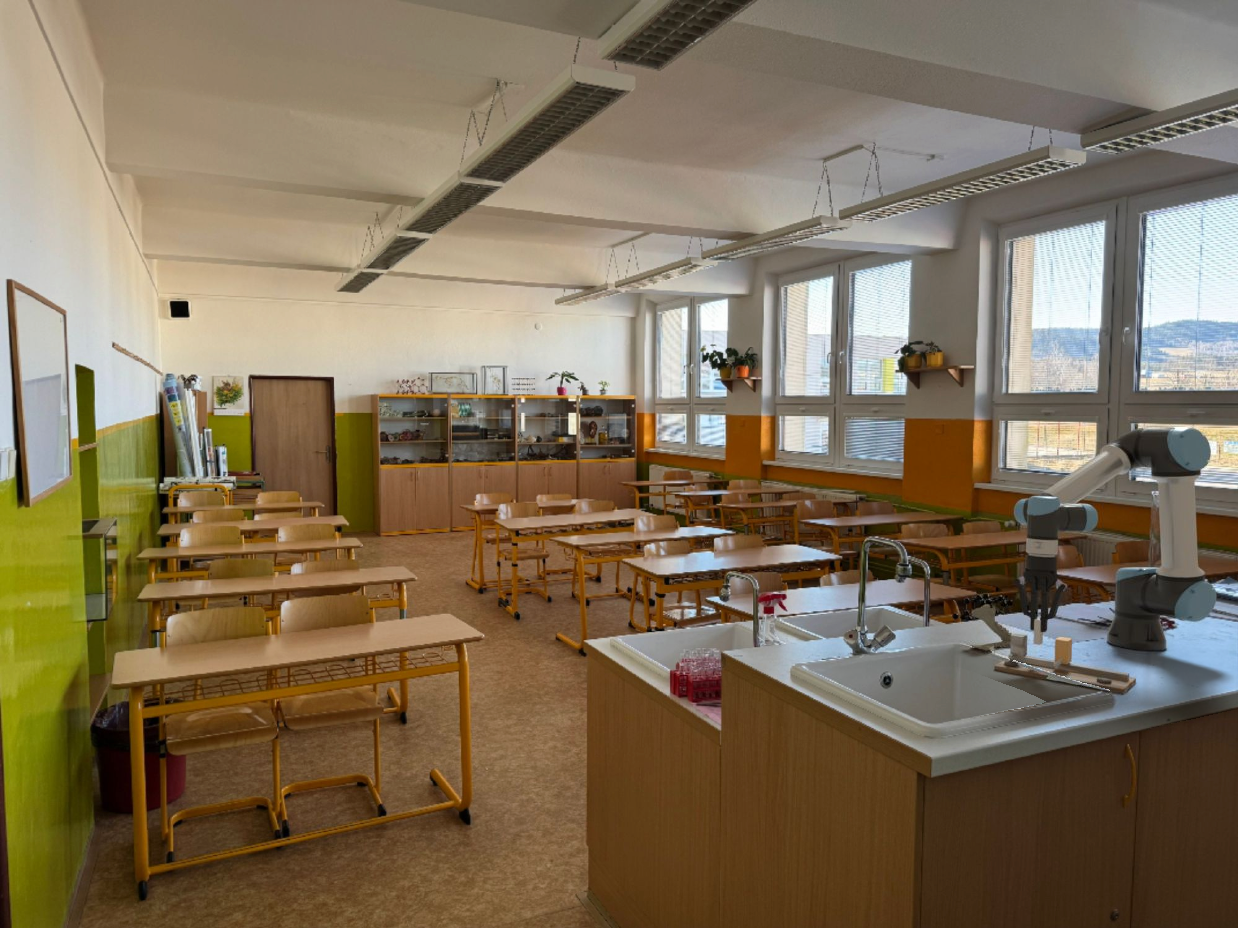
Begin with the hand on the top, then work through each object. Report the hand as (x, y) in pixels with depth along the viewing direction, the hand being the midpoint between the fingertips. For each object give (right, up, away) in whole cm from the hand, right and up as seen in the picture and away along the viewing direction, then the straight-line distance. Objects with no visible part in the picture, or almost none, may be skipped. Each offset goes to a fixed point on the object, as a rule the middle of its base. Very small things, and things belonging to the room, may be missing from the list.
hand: (1038, 643), depth 230 cm
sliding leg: (+3, -5, -6) cm, 8 cm away
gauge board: (+3, -7, -7) cm, 10 cm away
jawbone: (-3, -6, +23) cm, 24 cm away
